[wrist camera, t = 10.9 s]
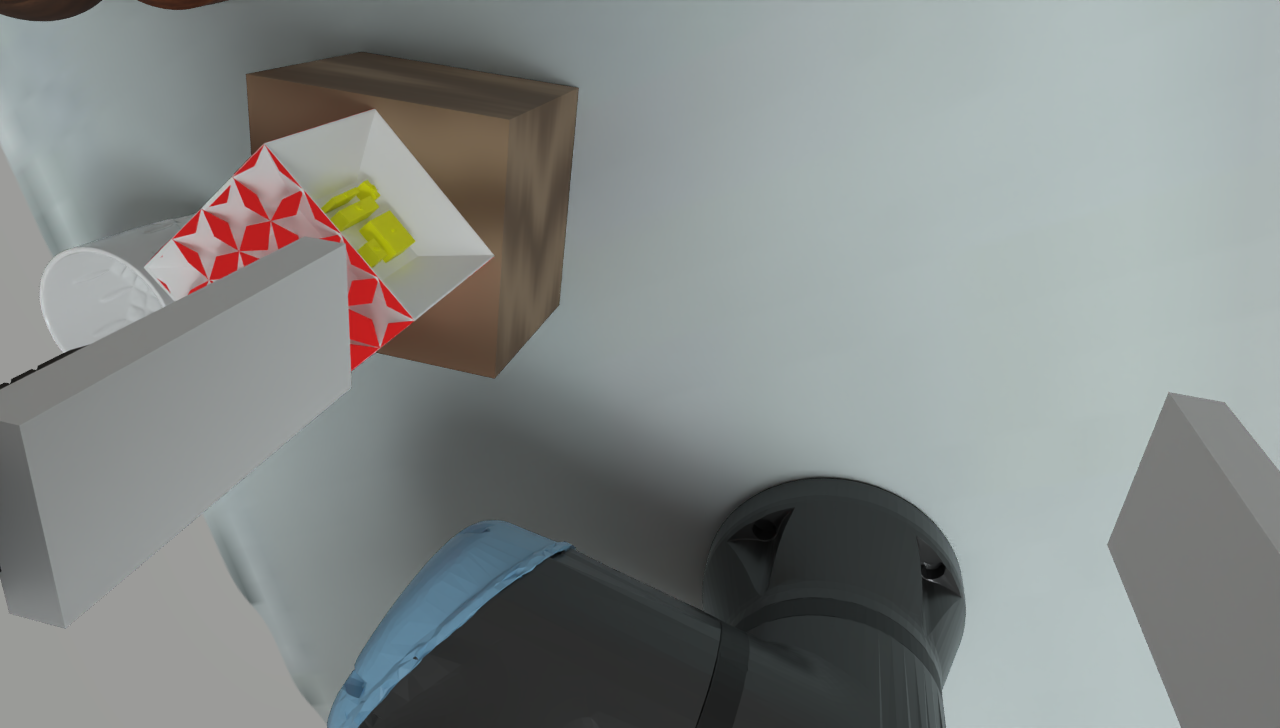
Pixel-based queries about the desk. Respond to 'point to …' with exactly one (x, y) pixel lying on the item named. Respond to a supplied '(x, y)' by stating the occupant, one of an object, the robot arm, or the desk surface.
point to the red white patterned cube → (335, 225)
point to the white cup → (104, 284)
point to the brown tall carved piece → (78, 7)
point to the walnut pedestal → (456, 183)
